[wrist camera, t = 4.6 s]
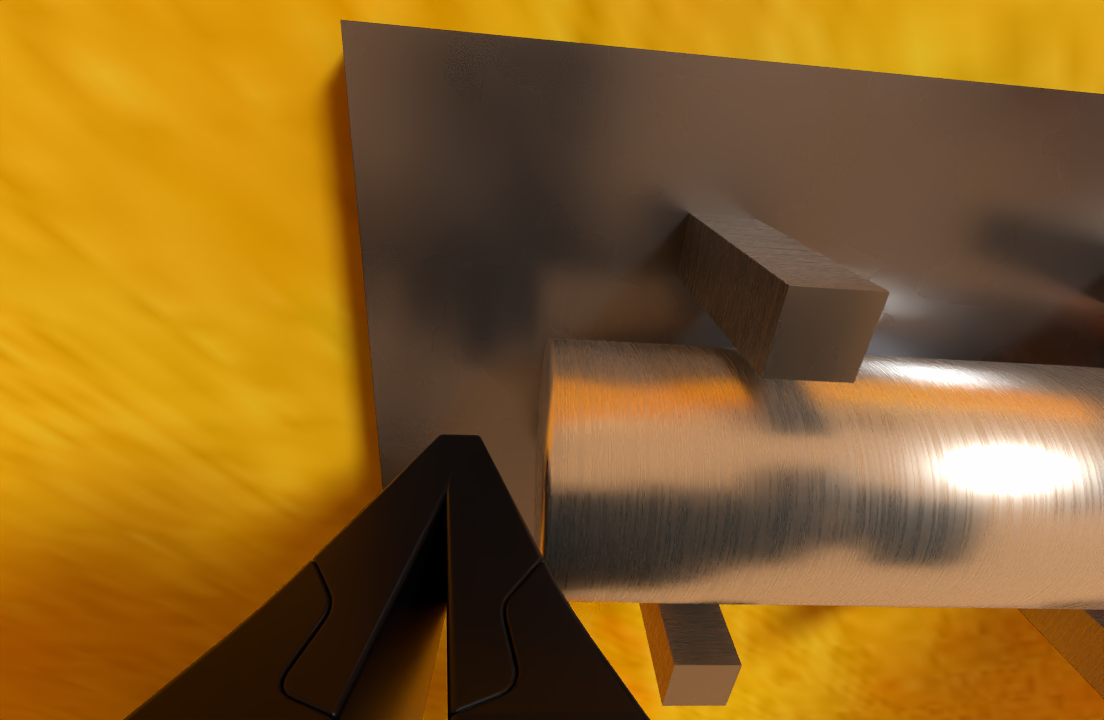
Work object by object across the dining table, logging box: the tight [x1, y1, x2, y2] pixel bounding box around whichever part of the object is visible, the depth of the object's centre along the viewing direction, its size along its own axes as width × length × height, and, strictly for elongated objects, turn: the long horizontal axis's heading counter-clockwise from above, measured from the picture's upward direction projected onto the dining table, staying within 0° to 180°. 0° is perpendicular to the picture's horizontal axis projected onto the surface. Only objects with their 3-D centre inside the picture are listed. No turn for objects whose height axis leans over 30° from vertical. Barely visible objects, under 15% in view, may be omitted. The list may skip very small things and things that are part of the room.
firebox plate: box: [341, 20, 1104, 706], centre depth 10 cm, size 12×20×5 cm, turn 86°
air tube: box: [534, 338, 1104, 610], centre depth 10 cm, size 5×16×5 cm, turn 85°
